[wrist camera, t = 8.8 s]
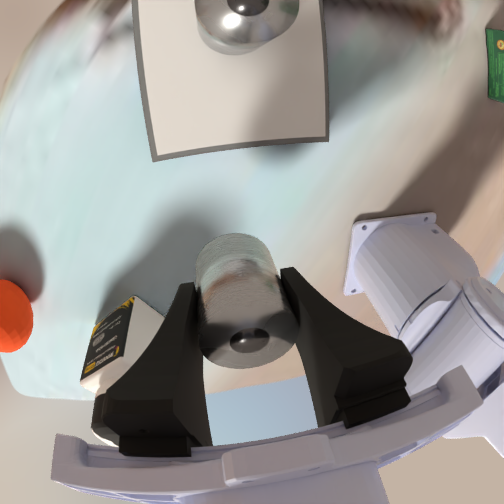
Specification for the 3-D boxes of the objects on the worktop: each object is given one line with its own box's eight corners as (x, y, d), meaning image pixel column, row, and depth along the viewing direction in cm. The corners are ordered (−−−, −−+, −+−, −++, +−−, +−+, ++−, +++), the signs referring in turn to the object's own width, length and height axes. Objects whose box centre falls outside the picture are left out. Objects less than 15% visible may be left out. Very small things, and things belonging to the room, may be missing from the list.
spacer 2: (269, 227, 14) (300, 295, 10) (272, 288, 16) (297, 358, 12) (188, 240, 14) (187, 315, 10) (203, 300, 16) (209, 374, 12)
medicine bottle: (134, 292, 23) (113, 421, 13) (190, 333, 27) (194, 449, 17) (93, 325, 25) (69, 434, 15) (145, 359, 28) (139, 460, 19)
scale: (308, -34, 11) (323, -47, 8) (320, 136, 18) (336, 146, 16) (136, -22, 10) (126, -36, 7) (156, 155, 17) (149, 168, 15)
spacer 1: (274, -2, 11) (303, -30, 7) (267, 58, 13) (294, 49, 9) (201, -8, 10) (201, -42, 6) (194, 54, 12) (189, 40, 8)
